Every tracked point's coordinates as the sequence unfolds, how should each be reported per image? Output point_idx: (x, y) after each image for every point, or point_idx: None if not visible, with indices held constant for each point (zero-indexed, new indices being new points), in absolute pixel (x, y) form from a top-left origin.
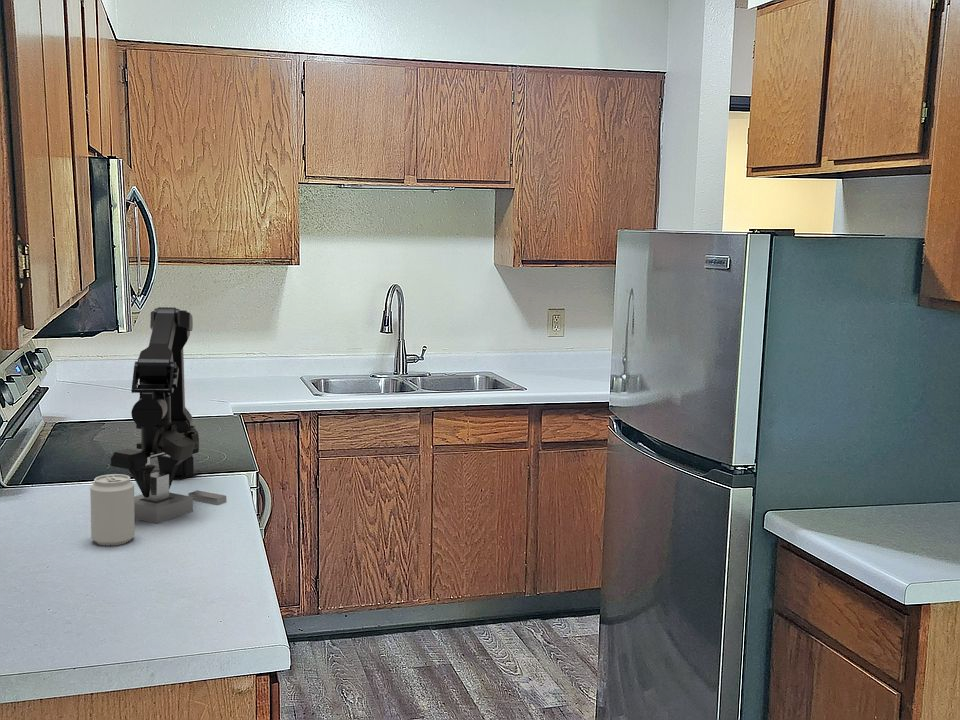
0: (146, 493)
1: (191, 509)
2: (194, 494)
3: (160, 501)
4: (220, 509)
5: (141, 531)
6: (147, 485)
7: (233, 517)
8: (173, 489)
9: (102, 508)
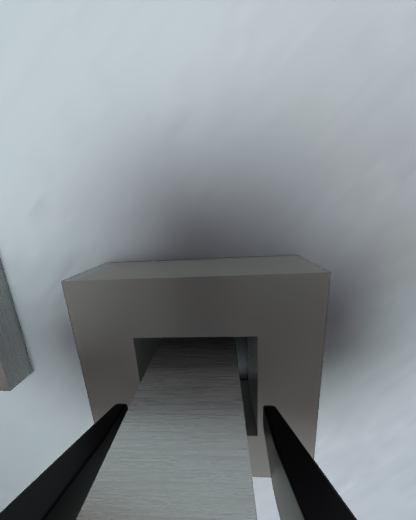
0: (290, 432)
1: (108, 265)
2: (1, 364)
3: (212, 352)
4: (18, 195)
5: (412, 225)
6: (333, 502)
7: (45, 47)
8: (6, 465)
9: None
